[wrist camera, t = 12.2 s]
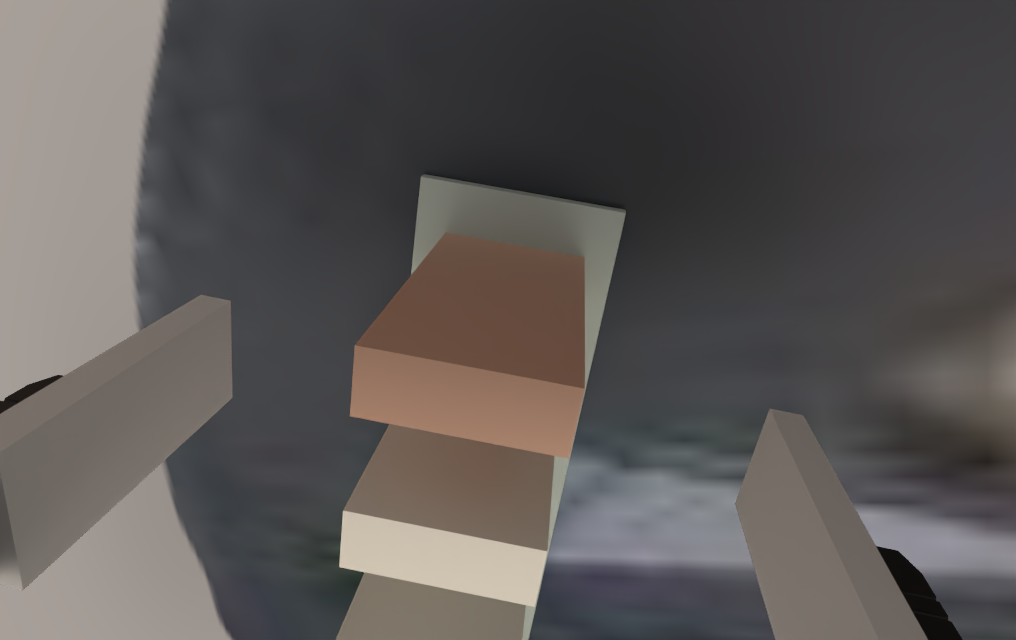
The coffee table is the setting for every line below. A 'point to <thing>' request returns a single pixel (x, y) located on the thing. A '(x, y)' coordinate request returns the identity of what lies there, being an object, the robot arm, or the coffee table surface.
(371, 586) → the domino
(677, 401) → the coffee table surface
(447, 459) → the domino
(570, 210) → the strip
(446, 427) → the domino
